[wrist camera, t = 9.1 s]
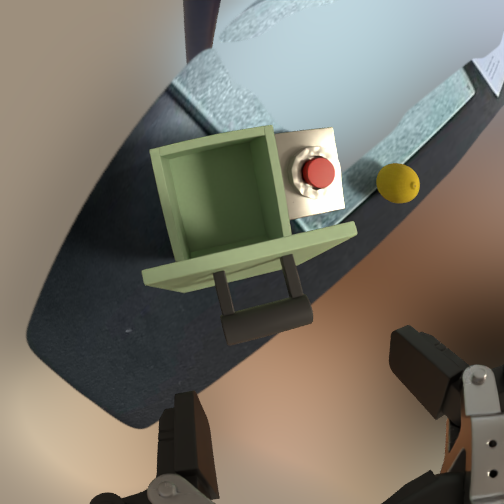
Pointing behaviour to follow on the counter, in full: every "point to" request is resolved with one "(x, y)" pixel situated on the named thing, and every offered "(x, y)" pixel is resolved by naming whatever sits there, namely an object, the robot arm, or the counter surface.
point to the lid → (247, 265)
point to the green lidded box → (221, 191)
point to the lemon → (397, 183)
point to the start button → (319, 172)
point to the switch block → (292, 162)
